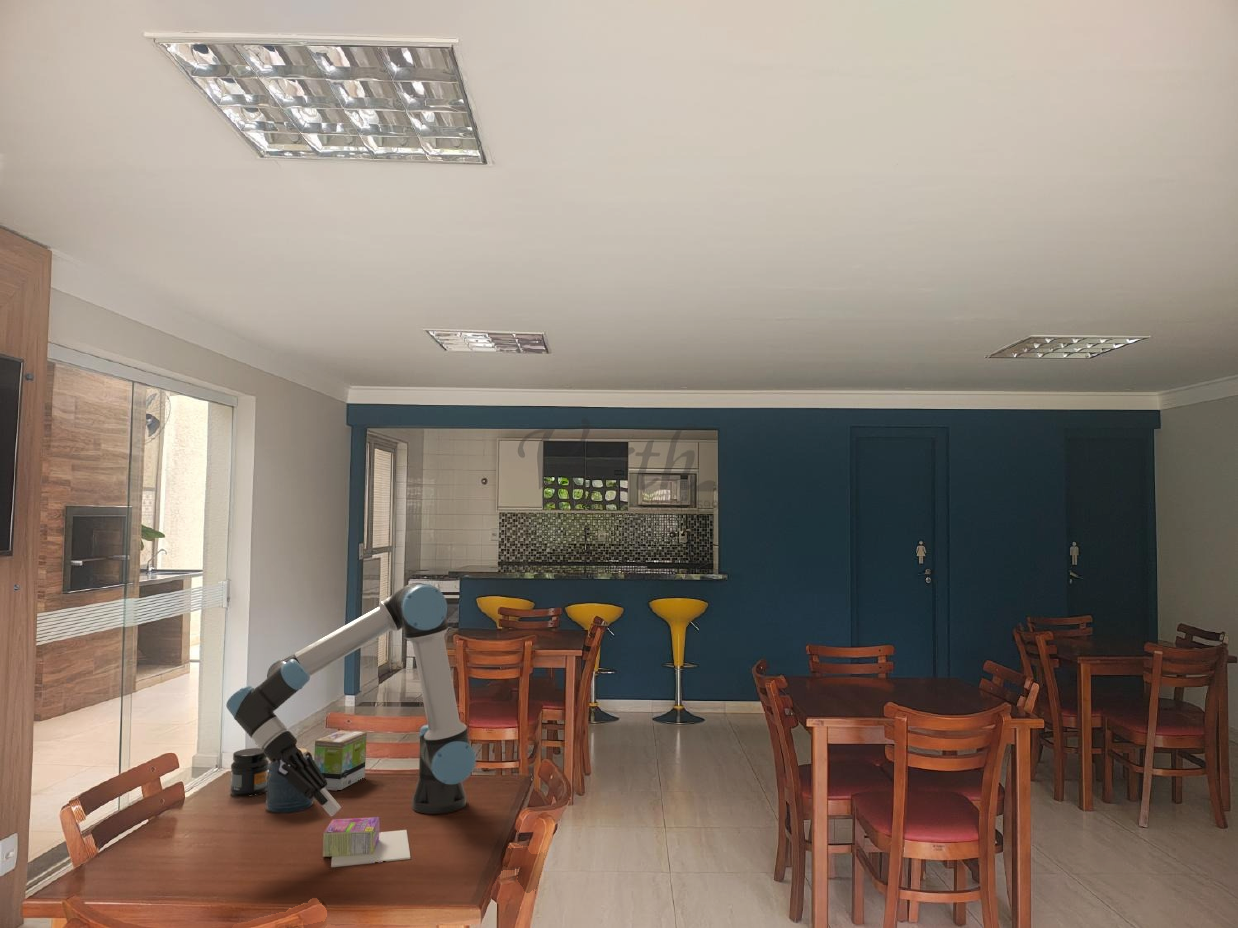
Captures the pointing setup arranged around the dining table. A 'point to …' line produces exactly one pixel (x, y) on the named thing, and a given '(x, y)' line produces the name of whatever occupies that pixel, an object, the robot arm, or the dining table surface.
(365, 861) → the mat
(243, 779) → the supplement container
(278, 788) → the canister
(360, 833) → the box
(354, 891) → the dining table surface
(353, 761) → the tea box
